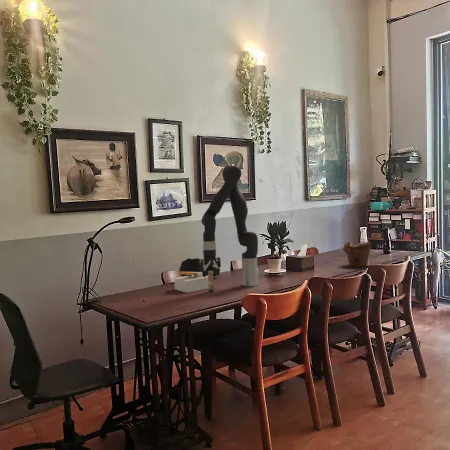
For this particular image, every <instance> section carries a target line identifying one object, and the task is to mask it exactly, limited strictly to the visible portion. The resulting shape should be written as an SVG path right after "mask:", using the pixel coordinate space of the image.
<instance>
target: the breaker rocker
mask: <svg viewBox="0 0 450 450" xmlns="http://www.w3.org/2000/svg"><path fill="white" fill-rule="evenodd" d="M193 273H198V275H202V272H180V271H179V274H180V275H181V274H183V275H194V274H193Z"/></svg>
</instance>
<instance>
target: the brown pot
mask: <svg viewBox="0 0 450 450" xmlns="http://www.w3.org/2000/svg"><path fill="white" fill-rule="evenodd" d="M371 247H372V246H371V242H370V241H369V240H367V242H363V243H359V242H358V243H356V242H355V243H354V242H351V241H348V242H345V243H344V246H343V251H344V254H346V257H347V261H348V265H349V266H350V267H356V268H357V267H360V268H361V267H367V266H368V263H369V258H370V257H369V256H370V252H371Z"/></svg>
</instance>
